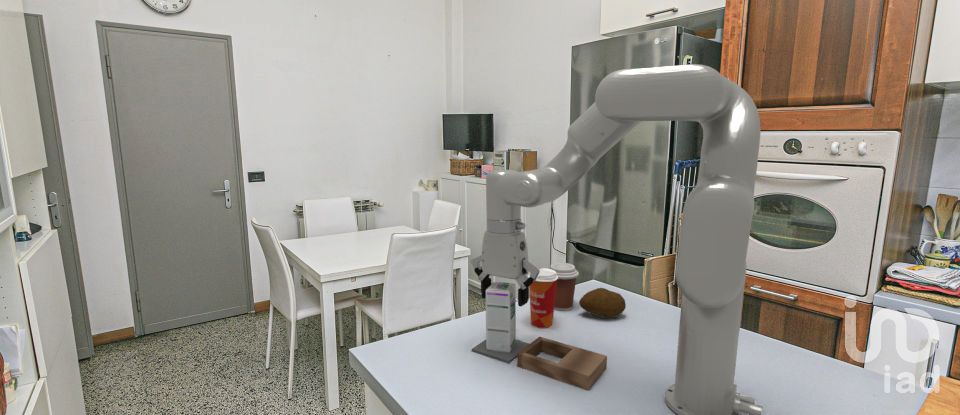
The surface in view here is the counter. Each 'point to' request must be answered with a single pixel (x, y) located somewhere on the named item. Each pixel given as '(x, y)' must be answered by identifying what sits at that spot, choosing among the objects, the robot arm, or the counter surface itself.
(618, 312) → the potato
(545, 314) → the paper cup
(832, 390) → the counter surface
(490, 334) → the syrup box
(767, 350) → the counter surface
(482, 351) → the rubber mat
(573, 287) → the coffee cup
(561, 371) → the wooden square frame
